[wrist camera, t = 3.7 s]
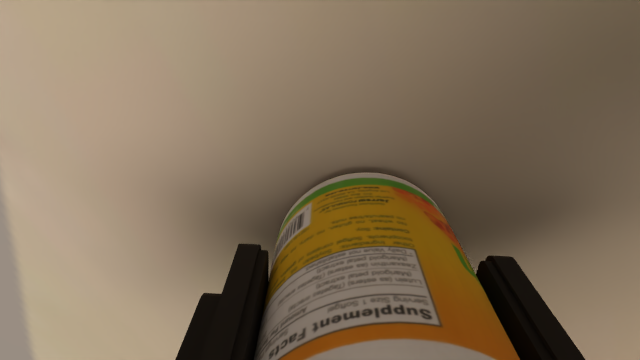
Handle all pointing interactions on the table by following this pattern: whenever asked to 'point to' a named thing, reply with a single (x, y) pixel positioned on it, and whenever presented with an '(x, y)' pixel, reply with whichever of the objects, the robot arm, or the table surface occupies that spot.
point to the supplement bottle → (374, 280)
